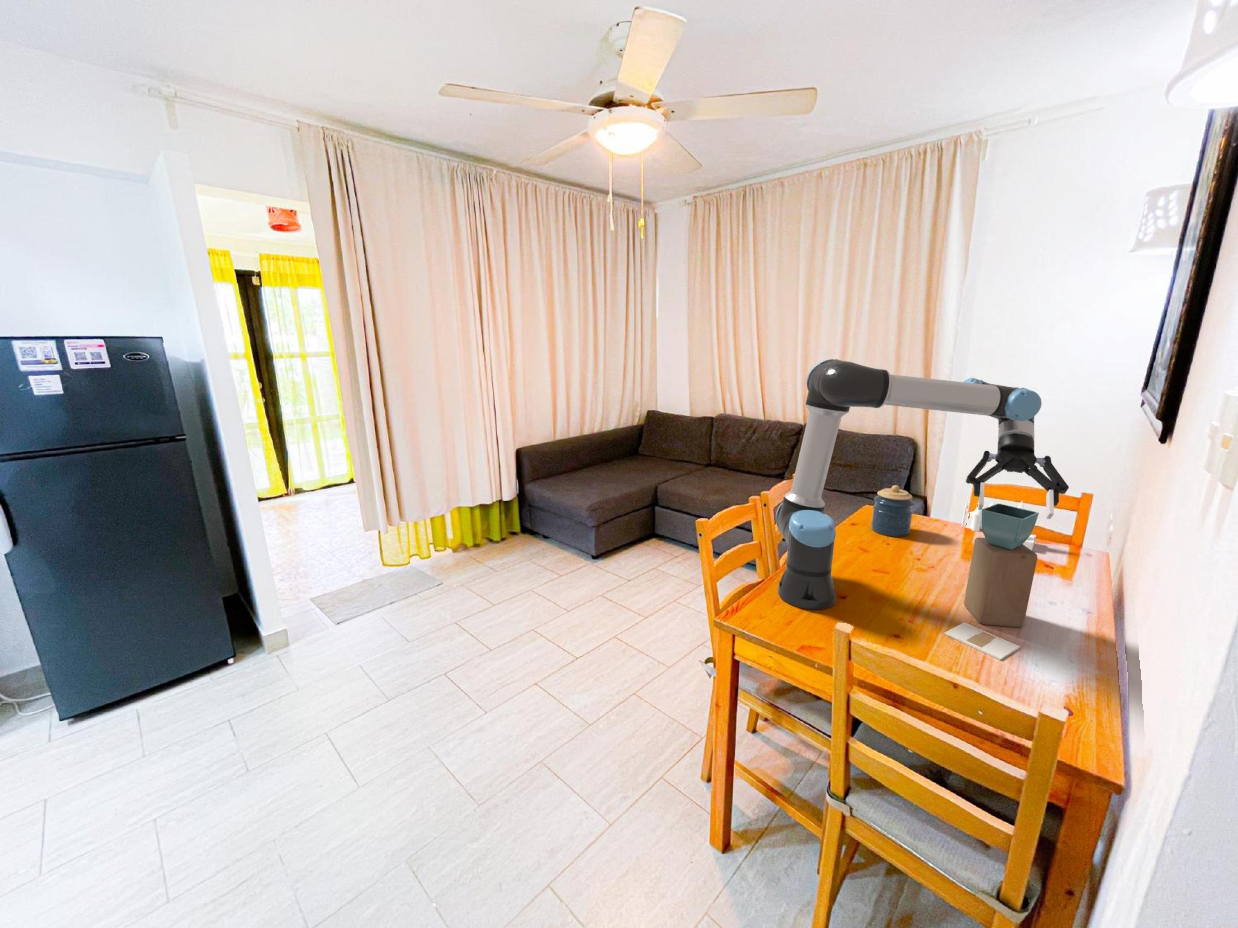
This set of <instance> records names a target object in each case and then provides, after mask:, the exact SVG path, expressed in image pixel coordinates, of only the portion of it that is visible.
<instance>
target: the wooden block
mask: <svg viewBox="0 0 1238 928" xmlns="http://www.w3.org/2000/svg"><path fill="white" fill-rule="evenodd" d="M1037 563H1038V554H1037V553H1036V552H1034V551H1033V549H1032V550H1030V549H1029V548H1027V547H1026V546H1025V545H1023V544H1022V545H1021V546H1019V547H1017V548H1014V549H1012V550H1010V549H1006V548H1003V547H999V546H996V545H992V544H989V543H988V541H987V540H986V538H985V537H980V536H979V537H975V539H974V542H973V549H972V553H971V560H970V566H969V570H968V571H969V572H968V578H967V581H966V582H967V584H966V587H965V594H964V600H963V604H964V607H965V608H966V609H967V610H968V612H970V614H971V615H972V616H973V617H974V618H975V620H976V621H977V622H978V623H980V624H982V625H989V626H990V625H991V626H1001V627H1011V628H1012V627H1013V628H1023V627H1024V625H1025V620H1026V614H1027V611H1028V606H1029V600H1030V597H1031V596H1030V595H1031V590H1032V588H1033V587H1032V586H1033V582H1034V576H1035V572H1036V566H1037Z"/></svg>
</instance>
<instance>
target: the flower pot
mask: <svg viewBox="0 0 1238 928" xmlns="http://www.w3.org/2000/svg"><path fill="white" fill-rule="evenodd" d="M1017 507H1018V506H1017ZM1017 507H1016V506H1013V505H1012V506H1011V505H1007V504H1003V503H995V504H994V505H993V506H990V507H988V506H987V507H983V508H982V529H981V530H982V534H983V536H984V538H986V540H987V541H988V543H989V544H992V545H996V546H999V547H1003V548H1006V549H1010V550H1012V549H1014V548H1017V547H1019V546H1021V545H1022V544H1023V543H1024V542H1025V541H1026V540H1027V539H1028V538H1029V536H1030V535H1031V534H1032V533H1033V531H1034V528H1035V525H1036V523H1037V520H1038V518H1039V514H1040V513H1039V511H1038V512H1037V511H1034V510H1029V509H1025V508H1024V509H1021V508H1017Z"/></svg>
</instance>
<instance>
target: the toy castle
mask: <svg viewBox="0 0 1238 928" xmlns="http://www.w3.org/2000/svg"><path fill="white" fill-rule="evenodd" d="M1023 503H1024V502H1023V500H1021V501H1020V503H1019V504H1018V506H1017V508H1021V509H1025V508H1024V504H1023ZM968 505H969V504H968V502H966V503H965V505H964V510H963V514H962V515H963V516H962V520H961V521H962V522H961V527H962V528H966V529H970V530H971V531H973V532H980V530H982V510H978V507H977V506H976V508H975V510H973V511H970V512H968V508H969V507H968ZM993 505H995V504H994V500H993V501H991V502H990V504H989V505H988V506H987V507H990V506H993ZM969 513H970V518H969V519H968V516H969ZM966 523H967V525H966ZM965 525H966V526H965ZM1036 538H1037V535H1036V534H1032V533H1031V535H1030V536H1029V538H1028V539H1027V540H1026V541H1025V542H1024V543H1023V545H1025V546H1026V547H1027V548H1029V549H1030V550H1032V551H1033V548H1034V546H1035V543H1036Z"/></svg>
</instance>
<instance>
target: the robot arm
mask: <svg viewBox="0 0 1238 928" xmlns="http://www.w3.org/2000/svg"><path fill="white" fill-rule="evenodd" d="M806 388H807V389H806V390H807V396H806V401H805V405H804V406H805V407H806V408H807V410H808V416H807V420H806V424H805V428H804V429H805V430H804V433H803V438H802V443H801V446H800V450H799V453H798V454H799V456H798V458H797V459H798V460H797V463H796V468H795V472H794V477H793V480H792V481H793V482H792V484H791V489H790V490H789V491H788V492H786V493H784V496H783V500H782V502H781V503H780V504H779V506H778V507H777V510H776V513H775V522H776V526H777V530H778V531H779V532H780V533H781V535H782V537H783V539H784V541H785V542H786V544H787V556H786V557H787V558H786V567H785V569H784V572H783V574H782V575H781V578H780V580H779V583H778V585H777V586H778V588H777V594H778V596H779V598H781V600H783V601H784V602H785V603H787V604H789V605H791V606H794V607H797V608H801V609H806V610H814V611H815V610H816V611H817V610H826V609H829V608H831V607H832V606H834V605H835V603H836V600H837V599H836V597H837V594H836V593H837V592H836V589H835V586H834V581H833V576H832V567H833V559H834V558H833V557H834V550H835V549H834V548H835V540H836V537H837V531H836V523H835V520H834V519H833V518H832V517H831V516H830V515H828V514H826V513H824V511H825V508H826V503H825V501H824V500H823V497H822V495H823V493H824V487H825V485H826V480H827V476H828V472H829V468H830V464H831V460H832V456H833V452H834V447H835V444H836V440H837V436H838V432H839V427H840V425H841V420H842V417H844V416H845V415H847V414H849V413H850V409H851V408H852V407H854V408H857V407H858V408H873V409H880V408H882V407H883V406H892V407H893V406H894V407H903V408H914V409H922V410H930V411H940V412H949V413H960V414H966V415H967V414H969V415H977V416H978V415H979V416H988V417H991V418H994V419H997V420H998V423H997V424H998V431H997V434H998V436H997V453H990V451H989V450H985V451H984V452H983V455H982V457H981V459H980V460H979V461H978V463H977V464H976V465H975V466H974V468H973V469H972V470H970V473H968V475H967V476H966V480H965V483H967V484H971V485H973V496H974V497H978V498H977V499H978V502H977V504H978V510H982V509H983V508H984V505H985V504H984V503H985V483H986V482H987V481H989V480H990V479H991V478H993V477H994V476H996V475H997V474H999V473H1001V472H1002V471H1006V472H1007V473H1018V474H1022V473H1025V474H1026V475H1027V477H1031V478H1032V479H1033V480H1034V481H1035V482H1036V483H1038V484H1039V485H1040V486H1041V487H1042V488H1043V489H1044V490H1046V492H1047V493H1046V494H1045V497H1046V498H1045V500H1046V501H1045V503H1046V506H1045V508H1046V509H1045V510H1046V512H1045V513H1046V519H1047V520H1051V519H1052V517H1053V516H1054V514H1055V512H1054V510H1055V507H1056V506H1058V504H1059V502H1060V494H1061V495H1064V494H1066V493H1067V491H1068V490H1069V489H1070V487H1069V485H1068V483H1067V482H1066V481H1065V480H1064V478H1063V476H1062V475H1061V474H1060V473H1059V471H1058V470H1057V468H1056V467H1055V465H1054V464H1053V462H1052V458H1051V455H1045V456H1044V457H1037V456H1036V455H1035V417H1036V416H1037V414H1039V412H1040V410H1041V408H1042V398H1041V397H1040V395H1039V393H1038V392H1035V391H1034V390H1030V389H1028V388H1026V387H1021V388H1020V387H1017V386H1016V387H1014V386H1006V385H1001V384H994V383H989V382H986V381H984V380H983V379H979V378H978V379H977V378H976V377H969V378H967V379H965V380H963V381H955V380H945V379H936V378H928V377H918V376H907V375H897V374H891V373H890V372H889V371H888V370H887V369H879V368H875V367H870V366H865V365H862V364H859V363H855V362H853V361H847V360H840V359H837V358H835V359H833V358H831V359H826V360H823V361H822V360H821V361H820V362H818V363H817V364H815V365H814V366H813V367H811V369H810V371H809V372H808V374H807V377H806ZM993 460H994V461H996V464H994V465H993V466H992V467H990V468H989V469H988V470H986V471H985V472H983V473H982V474H980V473H981V471H982V470H983V469H984V468H985V467H986V466H987V464H988V463H989V462H991V461H993ZM1036 464H1038V465H1039V466H1040V467H1041V468H1043V471H1044V473H1045V474H1046V475H1045V474H1044V473H1043V472H1042V471H1041V470H1040V469H1039V468H1038V467H1037V465H1036ZM979 474H980V475H979ZM978 475H979V476H978ZM977 476H978V477H977Z"/></svg>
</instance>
